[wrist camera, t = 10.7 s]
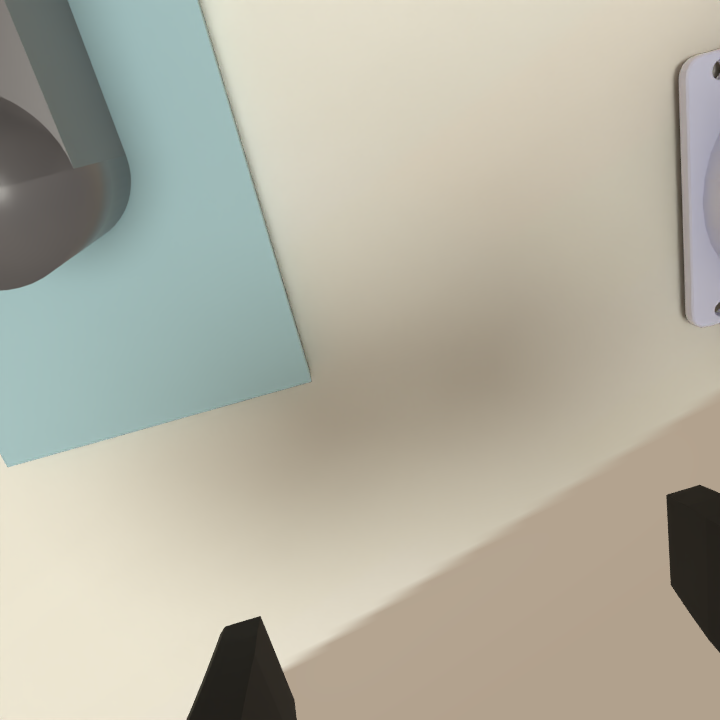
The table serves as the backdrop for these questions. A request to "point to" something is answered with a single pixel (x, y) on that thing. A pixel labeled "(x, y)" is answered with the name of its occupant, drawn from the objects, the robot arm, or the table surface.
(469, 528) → the table surface
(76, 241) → the connector
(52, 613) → the table surface
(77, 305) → the desk mat
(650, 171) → the table surface
